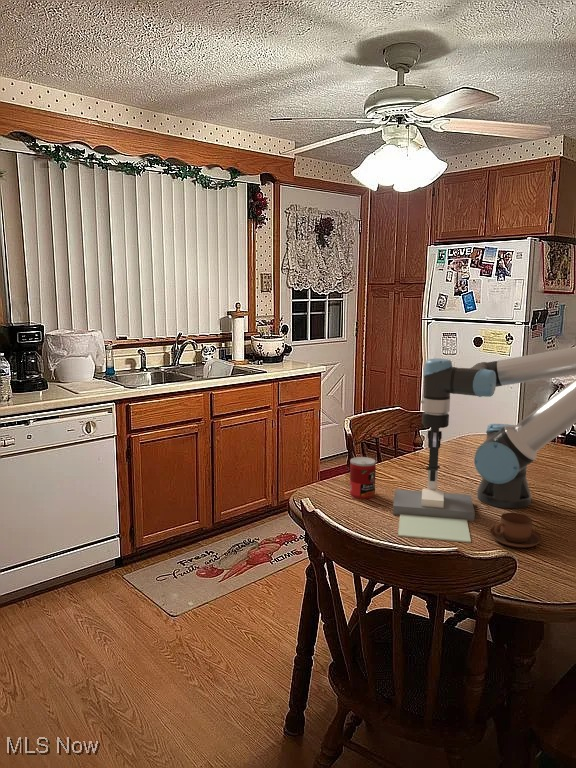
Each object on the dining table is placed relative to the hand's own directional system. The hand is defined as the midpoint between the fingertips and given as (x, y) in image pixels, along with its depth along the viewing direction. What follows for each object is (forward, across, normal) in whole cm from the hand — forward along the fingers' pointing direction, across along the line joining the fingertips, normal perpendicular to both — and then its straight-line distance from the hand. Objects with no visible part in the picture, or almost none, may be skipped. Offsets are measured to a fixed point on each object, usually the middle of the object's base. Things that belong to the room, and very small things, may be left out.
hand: (432, 490), depth 171 cm
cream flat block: (+2, +5, 0) cm, 6 cm away
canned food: (+4, -2, -21) cm, 21 cm away
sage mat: (+4, +19, +1) cm, 19 cm away
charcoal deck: (+4, +4, 0) cm, 6 cm away
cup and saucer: (+4, +22, +21) cm, 30 cm away
